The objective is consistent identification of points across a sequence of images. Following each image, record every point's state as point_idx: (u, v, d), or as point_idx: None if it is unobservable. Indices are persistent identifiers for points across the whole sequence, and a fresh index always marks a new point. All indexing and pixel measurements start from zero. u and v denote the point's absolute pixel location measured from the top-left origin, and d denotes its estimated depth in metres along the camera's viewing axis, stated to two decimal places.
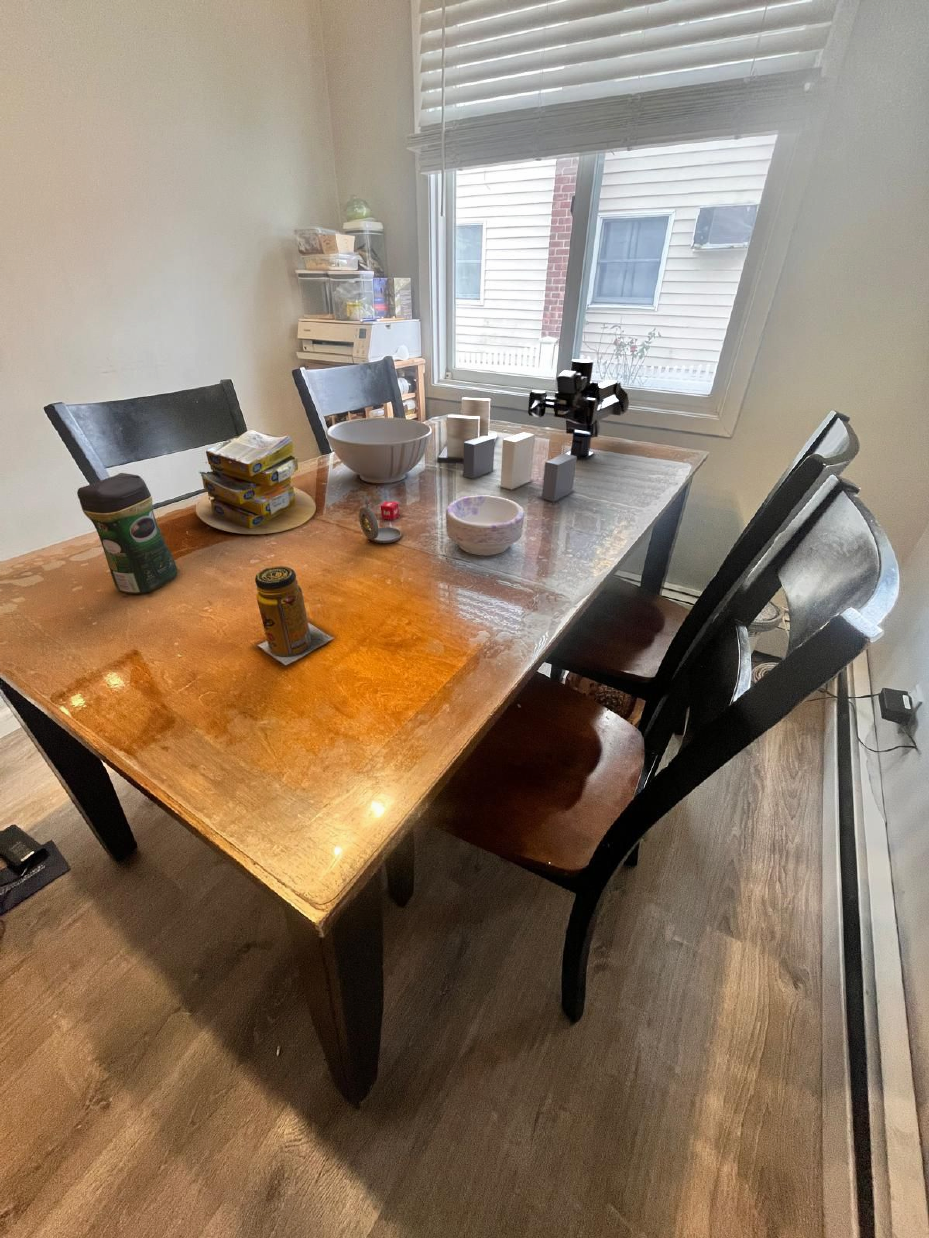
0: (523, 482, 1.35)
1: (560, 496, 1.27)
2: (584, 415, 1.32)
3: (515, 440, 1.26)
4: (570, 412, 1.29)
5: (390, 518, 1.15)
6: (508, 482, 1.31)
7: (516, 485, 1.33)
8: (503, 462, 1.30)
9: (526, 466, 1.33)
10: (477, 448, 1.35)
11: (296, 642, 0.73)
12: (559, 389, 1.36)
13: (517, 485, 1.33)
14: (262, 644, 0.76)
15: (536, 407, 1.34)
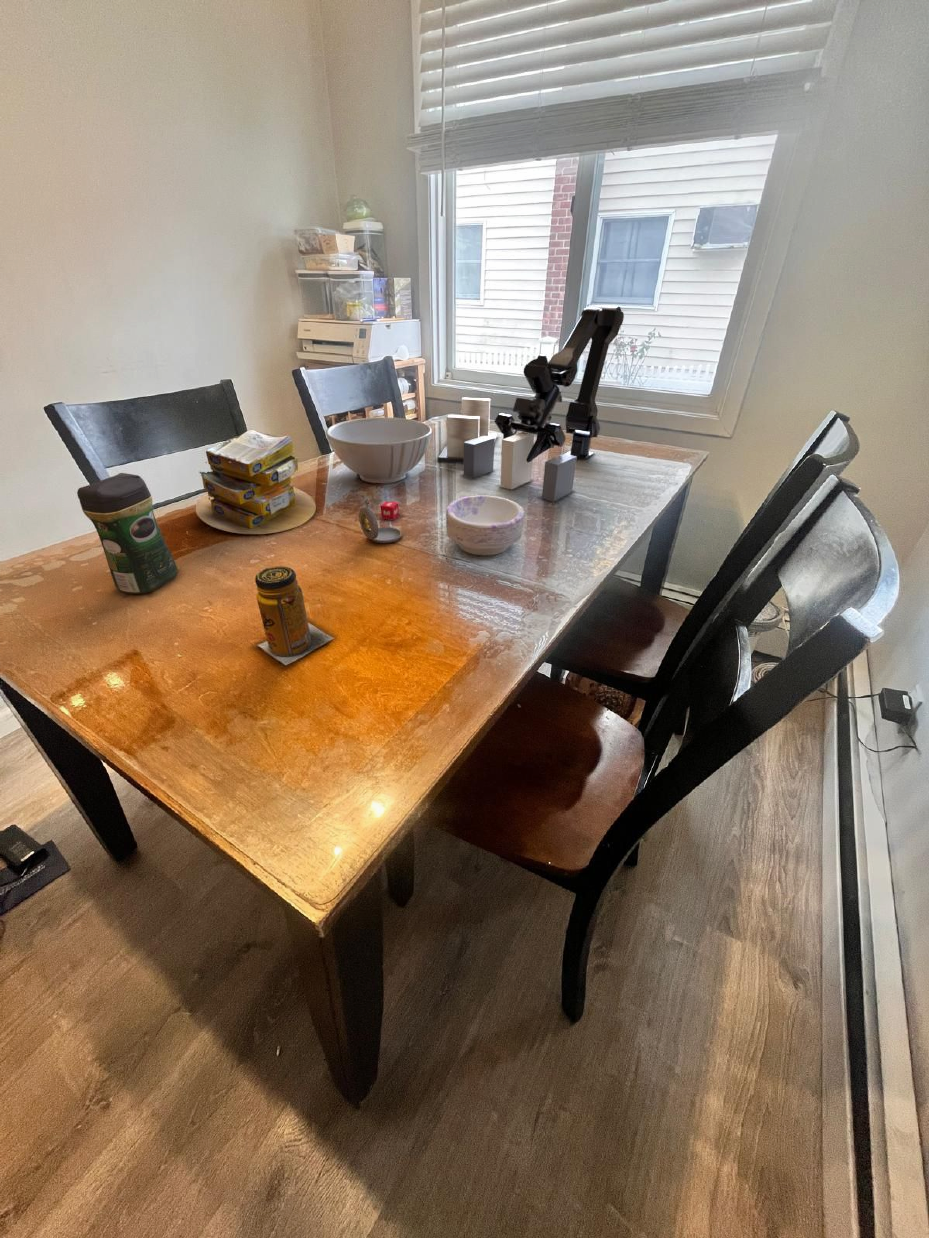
0: (523, 482, 1.35)
1: (560, 496, 1.27)
2: (549, 442, 1.28)
3: (514, 440, 1.26)
4: (532, 453, 1.28)
5: (390, 518, 1.15)
6: (508, 482, 1.31)
7: (516, 485, 1.33)
8: (502, 462, 1.30)
9: (526, 466, 1.33)
10: (477, 448, 1.35)
11: (296, 642, 0.73)
12: (520, 413, 1.29)
13: (517, 485, 1.33)
14: (262, 644, 0.76)
15: None
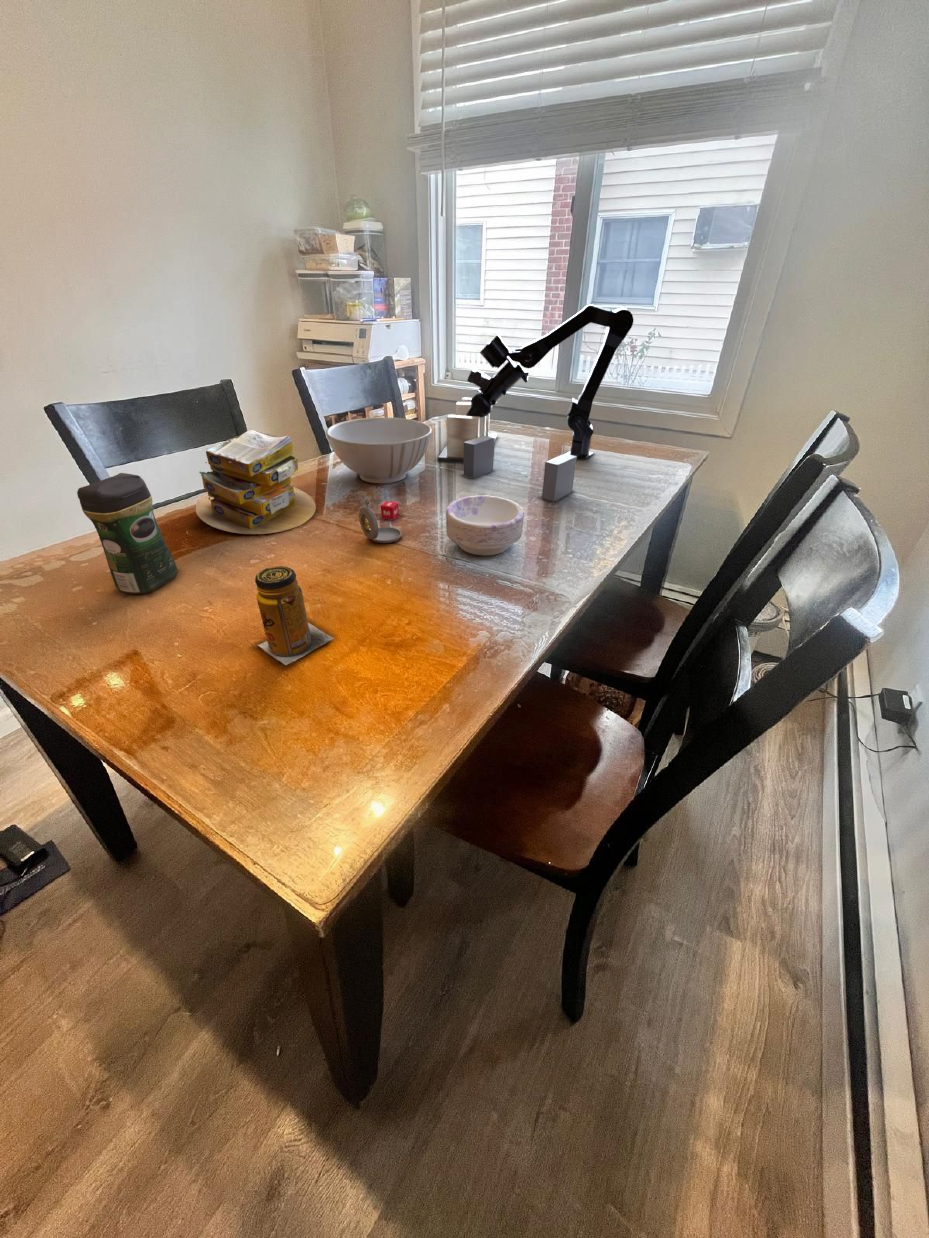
0: None
1: (560, 496, 1.27)
2: None
3: (459, 403, 1.54)
4: None
5: (390, 518, 1.15)
6: None
7: None
8: None
9: None
10: (477, 448, 1.35)
11: (296, 642, 0.73)
12: None
13: None
14: (262, 644, 0.76)
15: None
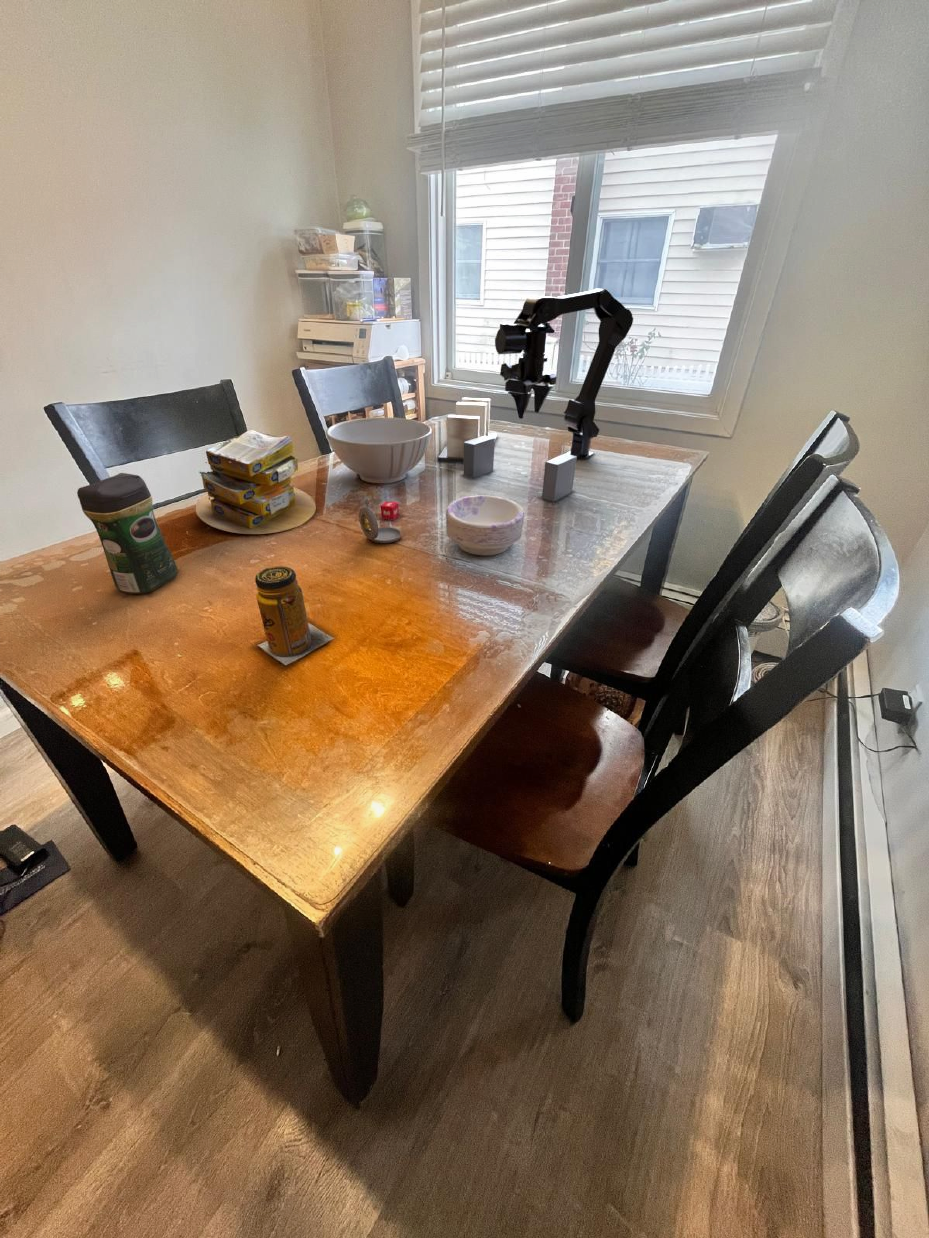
0: None
1: (560, 496, 1.27)
2: None
3: (459, 403, 1.54)
4: (518, 410, 1.39)
5: (390, 518, 1.15)
6: None
7: None
8: None
9: None
10: (477, 448, 1.35)
11: (296, 642, 0.73)
12: None
13: None
14: (262, 644, 0.76)
15: (536, 402, 1.46)
